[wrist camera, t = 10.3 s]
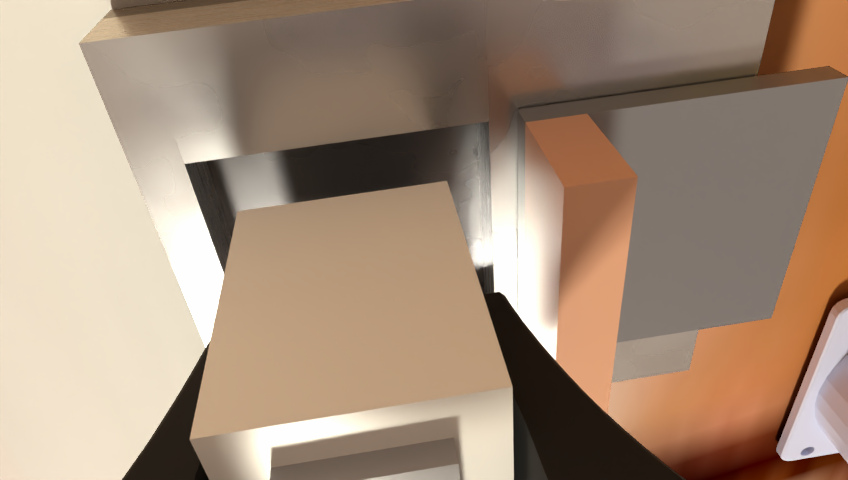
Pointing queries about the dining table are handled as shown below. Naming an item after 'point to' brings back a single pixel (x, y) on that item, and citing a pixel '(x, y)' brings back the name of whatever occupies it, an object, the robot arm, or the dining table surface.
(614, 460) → the robot arm
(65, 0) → the dining table surface
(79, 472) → the dining table surface
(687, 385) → the dining table surface
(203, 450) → the plug
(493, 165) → the socket plate
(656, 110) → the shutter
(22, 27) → the dining table surface
